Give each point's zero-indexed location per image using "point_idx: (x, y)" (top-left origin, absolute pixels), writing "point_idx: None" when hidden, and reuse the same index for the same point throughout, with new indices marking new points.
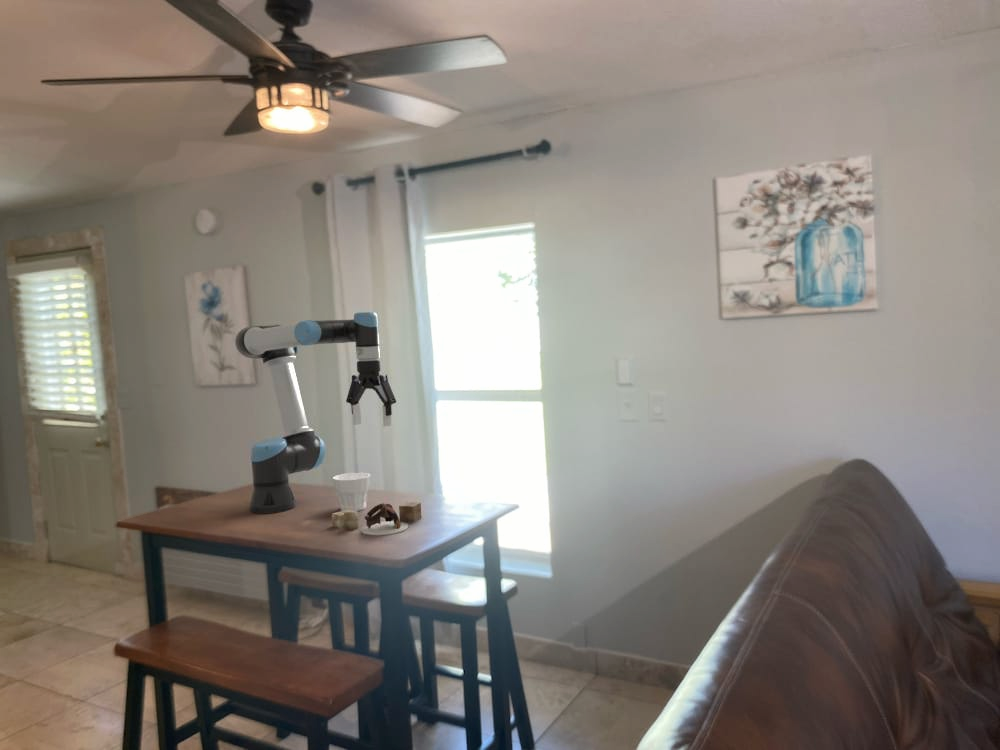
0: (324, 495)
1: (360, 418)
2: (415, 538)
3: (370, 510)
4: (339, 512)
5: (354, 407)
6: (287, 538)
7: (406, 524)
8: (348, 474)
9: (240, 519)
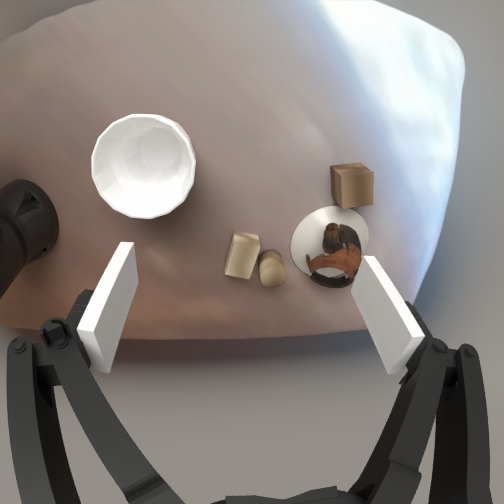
0: (20, 98)
1: (125, 263)
2: (396, 263)
3: (315, 270)
4: (233, 264)
5: (112, 357)
6: (211, 325)
7: (359, 217)
8: (101, 142)
9: (53, 283)
